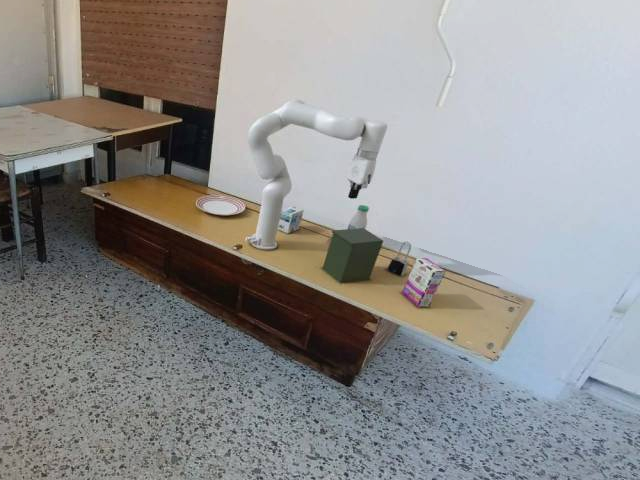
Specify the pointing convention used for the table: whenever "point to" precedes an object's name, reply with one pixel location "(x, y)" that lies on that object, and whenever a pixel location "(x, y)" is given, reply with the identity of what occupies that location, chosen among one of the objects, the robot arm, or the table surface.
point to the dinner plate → (220, 205)
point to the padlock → (399, 263)
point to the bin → (350, 260)
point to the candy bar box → (423, 282)
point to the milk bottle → (359, 218)
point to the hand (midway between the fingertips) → (352, 197)
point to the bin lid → (357, 236)
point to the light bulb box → (290, 219)
